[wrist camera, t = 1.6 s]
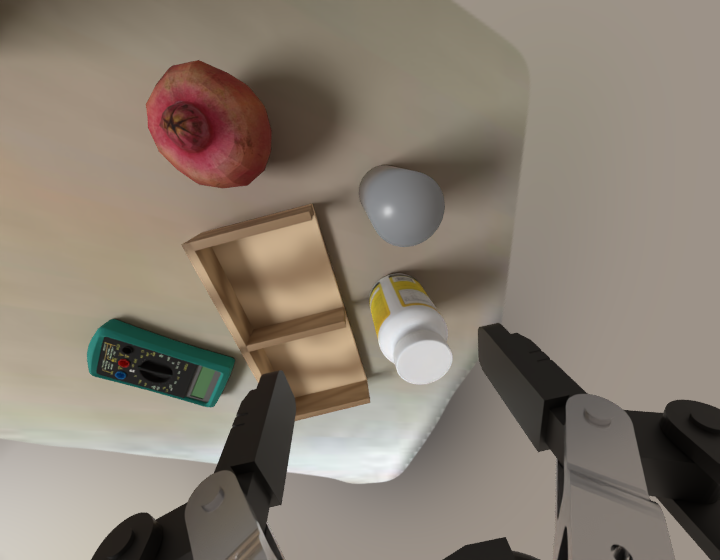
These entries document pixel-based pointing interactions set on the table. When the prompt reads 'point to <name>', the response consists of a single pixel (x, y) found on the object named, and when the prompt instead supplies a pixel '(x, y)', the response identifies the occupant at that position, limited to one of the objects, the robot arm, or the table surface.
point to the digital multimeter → (157, 363)
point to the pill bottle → (410, 329)
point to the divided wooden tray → (284, 306)
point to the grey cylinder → (401, 204)
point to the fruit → (209, 125)
